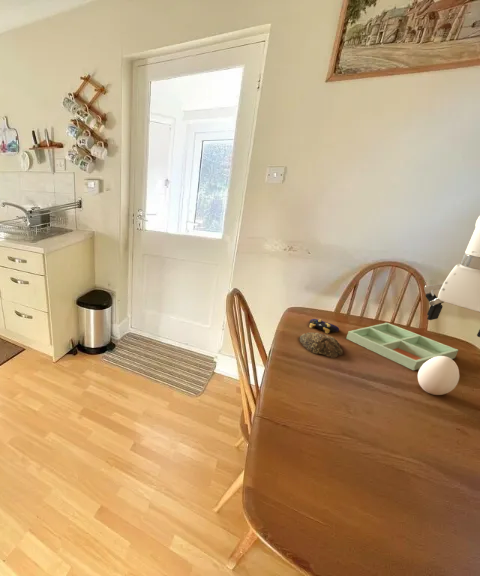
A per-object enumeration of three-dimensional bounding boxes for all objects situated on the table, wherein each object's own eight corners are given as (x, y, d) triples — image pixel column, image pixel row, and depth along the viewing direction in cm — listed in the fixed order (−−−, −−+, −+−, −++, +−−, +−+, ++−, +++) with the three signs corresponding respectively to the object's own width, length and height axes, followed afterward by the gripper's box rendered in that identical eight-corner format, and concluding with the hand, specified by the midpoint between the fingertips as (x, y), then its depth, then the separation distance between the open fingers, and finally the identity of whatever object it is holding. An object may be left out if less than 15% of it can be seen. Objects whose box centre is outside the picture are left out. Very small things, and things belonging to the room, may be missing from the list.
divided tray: (384, 330, 120) (387, 322, 119) (454, 359, 102) (458, 349, 101) (345, 339, 115) (348, 331, 113) (412, 371, 96) (417, 362, 95)
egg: (439, 387, 89) (456, 352, 85) (456, 404, 83) (474, 367, 79) (406, 381, 92) (421, 347, 88) (420, 398, 86) (436, 362, 81)
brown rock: (296, 336, 117) (299, 324, 116) (336, 342, 113) (339, 330, 111) (304, 354, 106) (307, 341, 104) (348, 361, 102) (352, 348, 100)
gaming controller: (340, 329, 120) (338, 322, 116) (333, 340, 119) (331, 334, 116) (312, 319, 127) (310, 313, 124) (306, 330, 127) (303, 324, 123)
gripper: (551, 272, 67) (514, 341, 74) (447, 253, 83) (423, 311, 89) (532, 276, 65) (495, 346, 72) (429, 255, 81) (406, 315, 87)
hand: (455, 327), depth 80 cm, fingers open, 9 cm apart
